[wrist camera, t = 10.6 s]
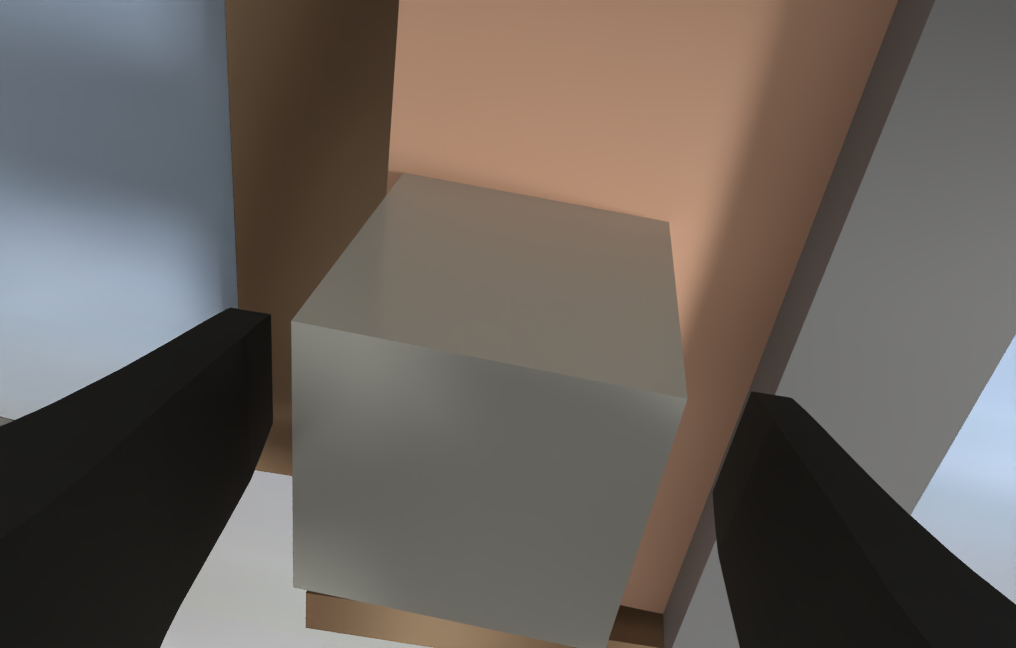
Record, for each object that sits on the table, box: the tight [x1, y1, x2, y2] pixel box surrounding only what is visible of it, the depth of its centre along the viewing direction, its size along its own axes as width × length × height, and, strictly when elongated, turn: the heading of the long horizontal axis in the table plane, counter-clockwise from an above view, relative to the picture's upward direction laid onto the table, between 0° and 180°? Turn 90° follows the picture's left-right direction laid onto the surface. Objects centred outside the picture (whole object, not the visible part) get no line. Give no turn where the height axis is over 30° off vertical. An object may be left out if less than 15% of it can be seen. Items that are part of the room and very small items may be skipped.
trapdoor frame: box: [225, 0, 664, 648], centre depth 16 cm, size 18×19×6 cm
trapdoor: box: [386, 0, 1016, 648], centre depth 14 cm, size 10×14×3 cm
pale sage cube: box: [291, 173, 688, 648], centre depth 12 cm, size 4×4×5 cm
